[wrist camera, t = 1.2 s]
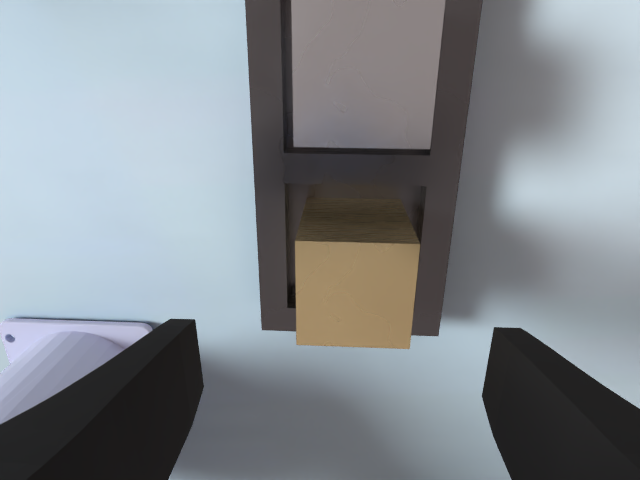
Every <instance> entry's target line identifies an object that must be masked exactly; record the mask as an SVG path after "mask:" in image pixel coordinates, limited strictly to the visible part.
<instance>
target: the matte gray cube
mask: <svg viewBox="0 0 640 480" xmlns="http://www.w3.org/2000/svg"><path fill="white" fill-rule="evenodd" d="M444 10H445V0H291V13H292V79H293V145H294V147H329V148H390V149H430V146H431V136H432V126H433V117H434V107H435V97H436V88H437V78H438V68H439V59H440V49H441V39H442V29H443V20H444Z"/></svg>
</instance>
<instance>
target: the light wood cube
mask: <svg viewBox="0 0 640 480" xmlns="http://www.w3.org/2000/svg"><path fill="white" fill-rule="evenodd" d="M419 252H420V242H419V240H418V238H417V235H416V233H415V231H414V229H413V226H412V224H411V222H410V219H409V217H408V215H407V213H406V210H405V208H404V206H403V203H402V201H401V199H364V198H317V197H307V199H306V203H305V206H304V210H303V214H302V217H301V221H300V224H299V228H298V232H297V235H296V239H295V276H296V342H297V345H314V346H342V347H370V348H397V349H410V340H411V330H412V320H413V311H414V301H415V291H416V282H417V272H418V262H419Z"/></svg>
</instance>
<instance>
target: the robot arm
mask: <svg viewBox="0 0 640 480" xmlns="http://www.w3.org/2000/svg"><path fill="white" fill-rule="evenodd" d="M0 334H1V338H2V341H3V344H4V347H5V350H6V353H7V356H8V359H9V363H10V365H9V366H7V367H6V368H5V369H4V370H3V371H2V372H1V373H0V480H168V478H169V476H170V474H171V472H172V470H173V467H174V465H175V463H176V461H177V458H178V456H179V454H180V452H181V449H182V447H183V445H184V443H185V440H186V438H187V436H188V434H189V431H190V429H191V427H192V424H193V421H194V418H195V414H196V411H197V408H198V405H199V401H200V398H201V394H202V391H203V387H204V385H203V378H202V370H201V362H200V354H199V346H198V339H197V331H196V323H195V320H194V319H170V320H168V321H166V322H165V323H163V324H161V325H160V326H158V327H157V328H155V329H154V330H153V329H152V328H151V326H150V325H148V324H146V323H133V322H104V321H75V320H46V319H17V318H8V319H5V320H4V321H3V322H1V323H0ZM12 335H13V336H14V337H13V336H12ZM482 398H483V402H484V405H485V409H486V413H487V416H488V420H489V423H490V427H491V430H492V433H493V437H494V439H495V441H496V444H497V446H498V449H499V451H500V453H501V456H502V458H503V461H504V463H505V465H506V468H507V470H508V472H509V475H510V477H511V479H512V480H640V409H639V408H637V407H636V406H634V405H633V404H631V403H630V402H628V401H626V400H625V399H623V398H622V397H620V396H619V395H617V394H616V393H614V392H613V391H611V390H610V389H608V388H607V387H605V386H604V385H602V384H601V383H599V382H598V381H596V380H595V379H593V378H592V377H590V376H589V375H588V374H586V373H585V372H583V371H582V370H580V369H579V368H578V367H576V366H575V365H573V364H572V363H571V362H569V361H568V360H566V359H565V358H564V357H562V356H561V355H559V354H558V353H557V352H555V351H554V350H552V349H551V348H550V347H548V346H547V345H545V344H544V343H542V342H541V341H540V340H538V339H537V338H535V337H534V336H532V335H531V334H529V333H528V332H526V331H524V330H523V329H521V328H499V327H494V331H493V337H492V342H491V348H490V353H489V359H488V365H487V370H486V376H485V382H484V387H483V393H482Z"/></svg>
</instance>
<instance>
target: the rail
mask: <svg viewBox="0 0 640 480" xmlns="http://www.w3.org/2000/svg"><path fill="white" fill-rule="evenodd" d="M245 6H246V26H247V46H248V66H249V85H250V105H251V125H252V145H253V164H254V184H255V204H256V224H257V244H258V263H259V283H260V303H261V323H262V330H275V331H296V276H295V239H296V235H297V232H298V228H299V224H300V221H301V217H302V214H303V210H304V206H305V203H306V199H307V197H317V198H364V199H401V201H402V203H403V206H404V208H405V210H406V213H407V215H408V217H409V219H410V222H411V224H412V226H413V229H414V231H415V233H416V235H417V238H418V240H419V242H420V252H419V262H418V272H417V282H416V291H415V301H414V311H413V320H412V330H411V335H419V336H438V335H439V327H440V320H441V312H442V304H443V297H444V289H445V282H446V274H447V266H448V259H449V251H450V244H451V236H452V228H453V221H454V213H455V206H456V198H457V190H458V183H459V175H460V168H461V160H462V152H463V145H464V137H465V130H466V122H467V114H468V107H469V99H470V92H471V84H472V76H473V69H474V61H475V54H476V46H477V38H478V31H479V23H480V16H481V8H482V0H445V10H444V20H443V29H442V39H441V49H440V59H439V68H438V78H437V88H436V97H435V107H434V117H433V126H432V136H431V146H430V149H390V148H329V147H294V145H293V79H292V13H291V0H245Z"/></svg>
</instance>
